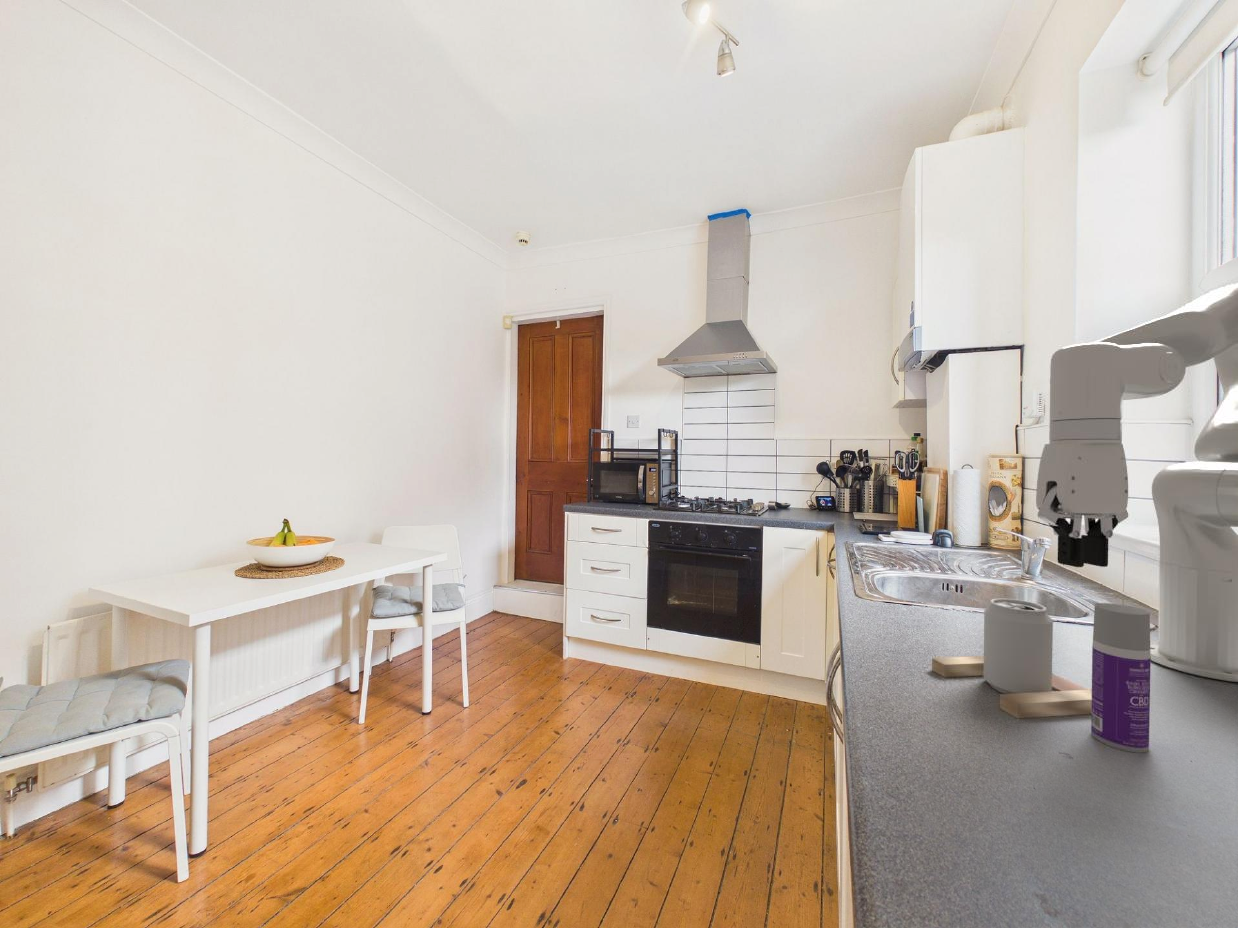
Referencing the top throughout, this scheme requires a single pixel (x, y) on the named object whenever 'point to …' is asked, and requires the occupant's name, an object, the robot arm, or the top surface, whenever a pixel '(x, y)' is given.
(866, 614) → the top surface
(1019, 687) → the can
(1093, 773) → the top surface
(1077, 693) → the channel
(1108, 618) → the container
